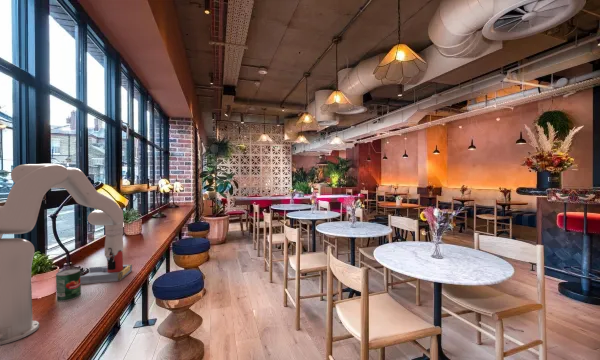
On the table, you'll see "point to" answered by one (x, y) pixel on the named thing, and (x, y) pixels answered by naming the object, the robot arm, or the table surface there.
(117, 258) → the beer can
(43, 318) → the table surface
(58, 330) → the table surface
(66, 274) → the canned tomato
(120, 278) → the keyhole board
